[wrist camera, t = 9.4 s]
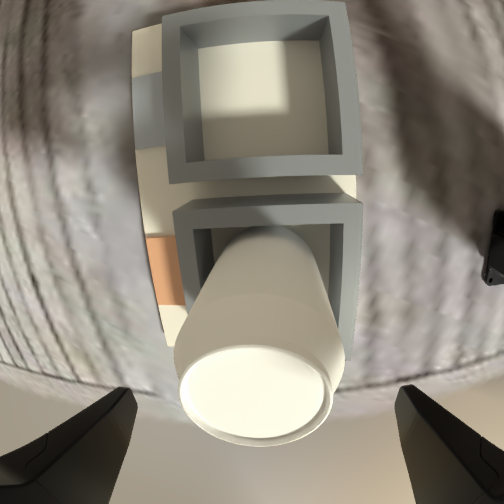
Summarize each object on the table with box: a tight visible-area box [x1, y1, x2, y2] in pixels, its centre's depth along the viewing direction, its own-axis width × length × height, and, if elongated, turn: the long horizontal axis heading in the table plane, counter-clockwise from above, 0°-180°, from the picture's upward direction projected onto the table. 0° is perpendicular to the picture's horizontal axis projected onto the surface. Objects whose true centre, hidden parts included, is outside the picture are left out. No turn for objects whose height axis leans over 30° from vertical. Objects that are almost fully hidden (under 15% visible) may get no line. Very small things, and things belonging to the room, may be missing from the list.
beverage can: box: [174, 225, 345, 446], centre depth 14 cm, size 6×6×12 cm
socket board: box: [132, 0, 363, 361], centre depth 17 cm, size 14×24×5 cm, turn 4°
